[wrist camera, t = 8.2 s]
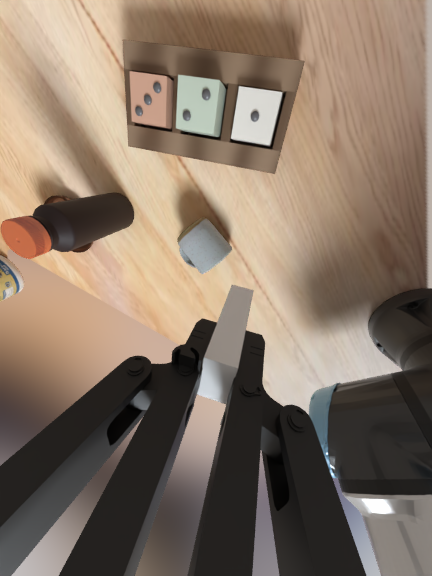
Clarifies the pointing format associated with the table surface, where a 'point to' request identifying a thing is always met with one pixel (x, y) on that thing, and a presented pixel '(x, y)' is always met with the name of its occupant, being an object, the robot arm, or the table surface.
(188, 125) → the two pip tile
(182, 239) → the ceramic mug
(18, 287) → the supplement tub
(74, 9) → the table surface
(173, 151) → the wooden tile tray
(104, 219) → the bottle
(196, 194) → the table surface
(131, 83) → the three pip tile
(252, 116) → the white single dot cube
